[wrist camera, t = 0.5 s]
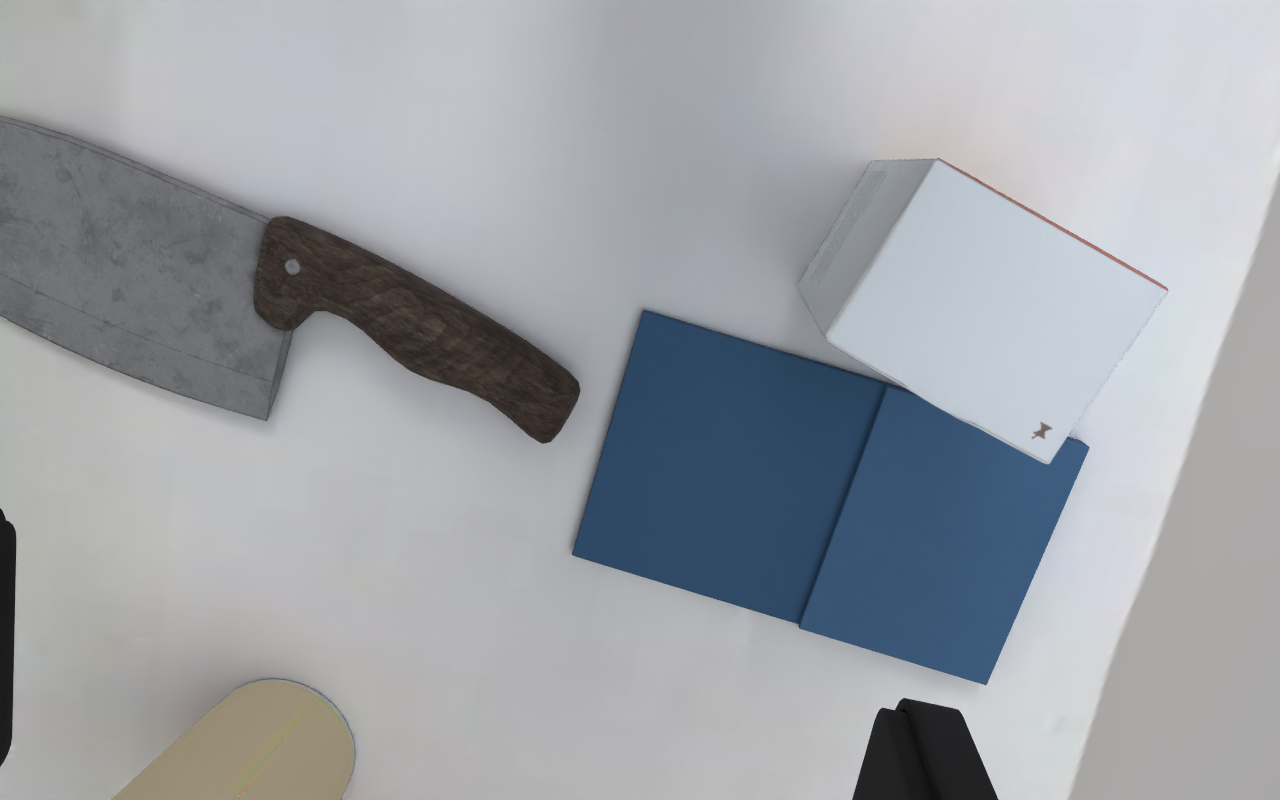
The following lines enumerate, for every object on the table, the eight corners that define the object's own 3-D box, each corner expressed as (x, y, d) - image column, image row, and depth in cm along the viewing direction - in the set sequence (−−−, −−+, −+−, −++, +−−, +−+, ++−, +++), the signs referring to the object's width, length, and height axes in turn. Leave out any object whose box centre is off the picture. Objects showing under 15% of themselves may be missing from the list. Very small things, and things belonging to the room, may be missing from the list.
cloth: (643, 309, 42) (642, 312, 41) (1082, 441, 42) (1090, 447, 41) (573, 551, 45) (570, 559, 45) (981, 675, 45) (986, 685, 44)
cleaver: (603, 330, 43) (596, 339, 41) (535, 523, 45) (525, 540, 43) (-19, 97, 43) (-57, 94, 41) (-52, 303, 45) (-90, 309, 43)
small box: (1038, 249, 40) (1179, 291, 28) (953, 378, 42) (1050, 473, 29) (870, 153, 40) (936, 153, 27) (791, 287, 42) (818, 345, 29)
